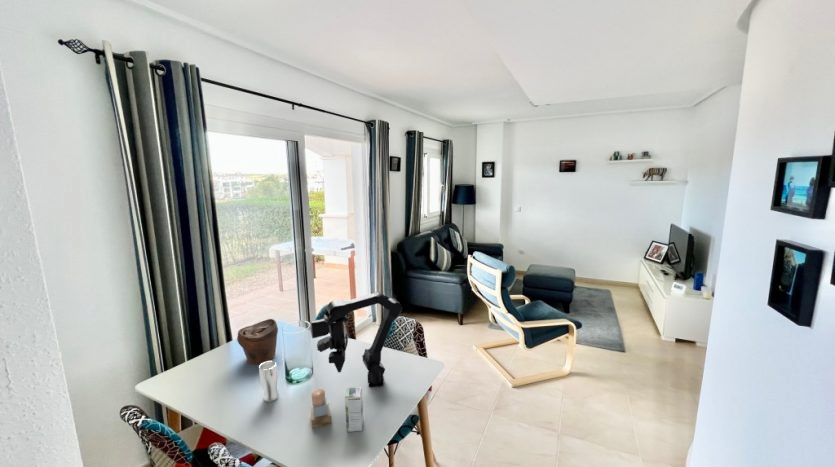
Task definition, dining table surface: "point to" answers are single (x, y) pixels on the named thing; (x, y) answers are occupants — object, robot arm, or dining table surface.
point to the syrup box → (354, 409)
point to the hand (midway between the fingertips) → (340, 365)
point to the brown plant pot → (259, 341)
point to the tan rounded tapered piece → (318, 398)
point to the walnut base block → (320, 419)
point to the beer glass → (269, 380)
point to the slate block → (320, 410)
